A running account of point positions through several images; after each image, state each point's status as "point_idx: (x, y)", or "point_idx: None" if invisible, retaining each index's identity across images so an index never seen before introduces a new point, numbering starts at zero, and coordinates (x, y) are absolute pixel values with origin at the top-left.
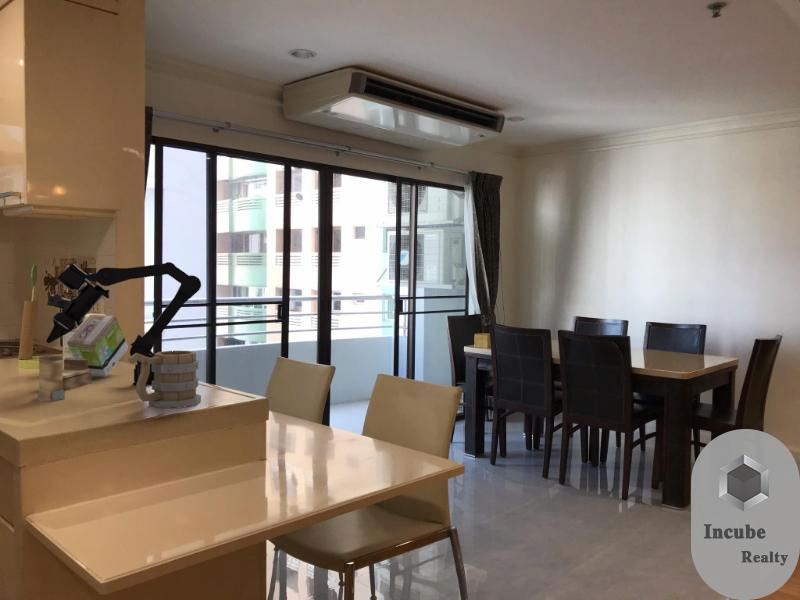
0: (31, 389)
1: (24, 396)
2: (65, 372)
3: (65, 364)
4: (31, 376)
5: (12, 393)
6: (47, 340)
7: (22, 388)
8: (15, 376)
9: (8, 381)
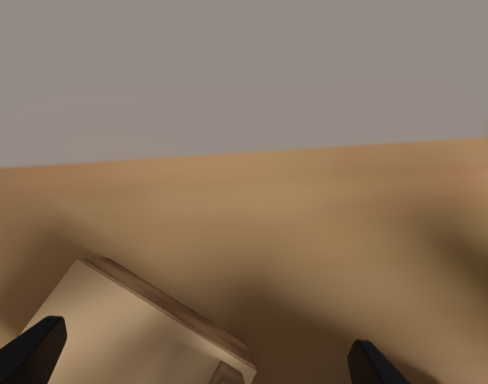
0: (200, 225)
1: (63, 214)
2: (99, 378)
3: (216, 379)
4: (466, 206)
5: (143, 174)
6: (32, 333)
7: (232, 196)
8: (473, 161)
9: (382, 148)
